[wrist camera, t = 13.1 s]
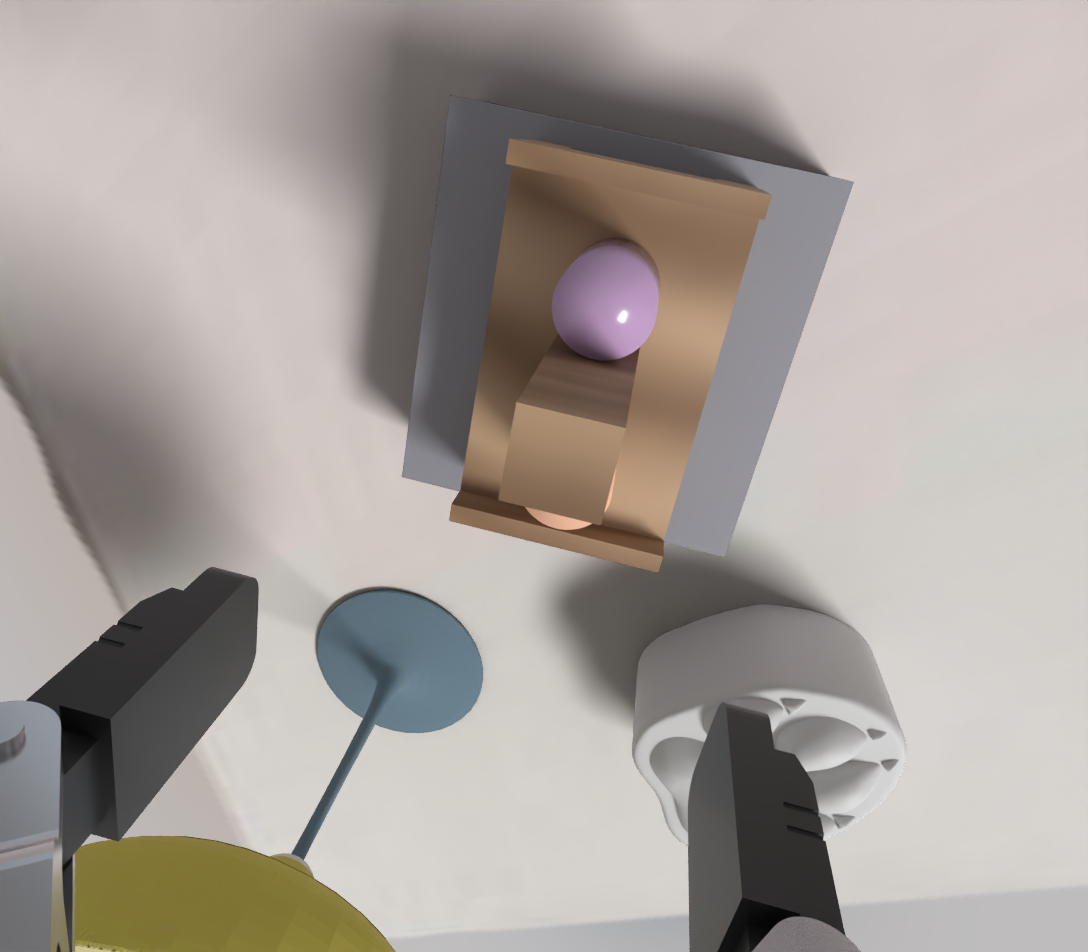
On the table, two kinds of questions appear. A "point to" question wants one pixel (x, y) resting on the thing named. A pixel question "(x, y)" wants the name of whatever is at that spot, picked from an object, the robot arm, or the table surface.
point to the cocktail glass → (286, 879)
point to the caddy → (593, 385)
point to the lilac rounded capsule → (607, 300)
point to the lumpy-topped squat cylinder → (770, 706)
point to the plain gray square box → (751, 337)
